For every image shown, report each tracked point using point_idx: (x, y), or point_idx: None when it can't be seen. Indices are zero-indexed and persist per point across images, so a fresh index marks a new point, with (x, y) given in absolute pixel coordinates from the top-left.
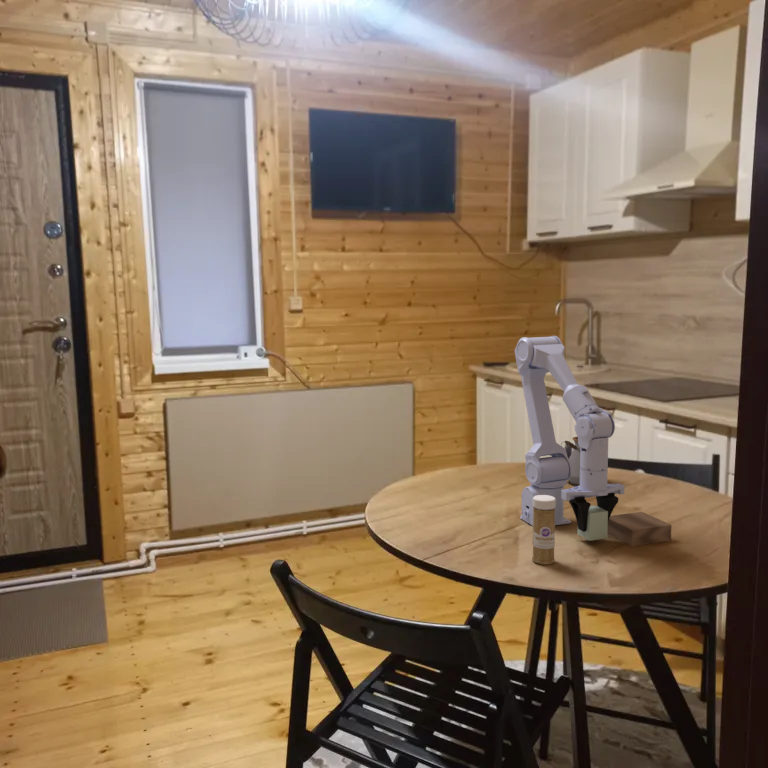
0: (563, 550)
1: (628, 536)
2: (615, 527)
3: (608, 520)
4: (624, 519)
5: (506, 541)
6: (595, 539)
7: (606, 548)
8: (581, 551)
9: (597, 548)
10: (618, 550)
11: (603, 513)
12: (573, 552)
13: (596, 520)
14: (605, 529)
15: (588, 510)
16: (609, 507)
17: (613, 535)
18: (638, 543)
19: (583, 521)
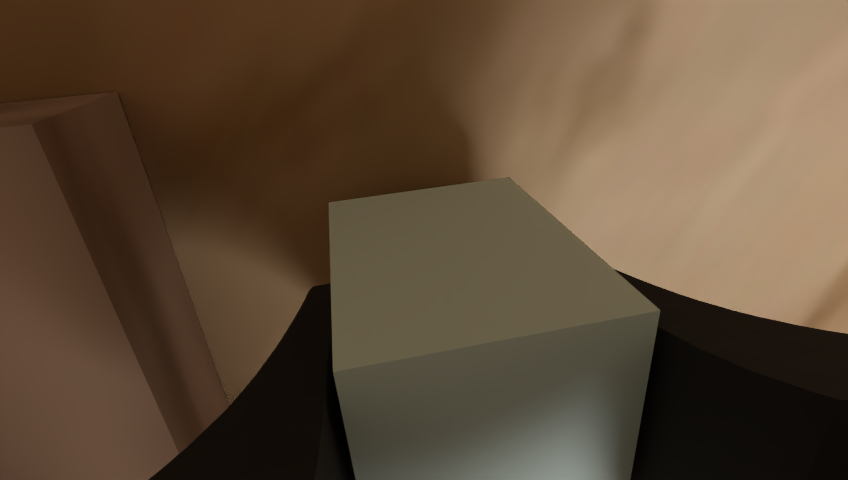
0: (691, 138)
1: (106, 169)
2: (170, 361)
3: (294, 323)
4: (23, 452)
5: (844, 332)
6: (449, 186)
7: (377, 99)
8: (596, 87)
9: (447, 117)
10: (295, 23)
11: (415, 337)
12: (658, 82)
13: (501, 270)
14: (354, 234)
15: (705, 348)
16: (293, 436)
17: (199, 329)
18: (28, 101)
19: (637, 281)
